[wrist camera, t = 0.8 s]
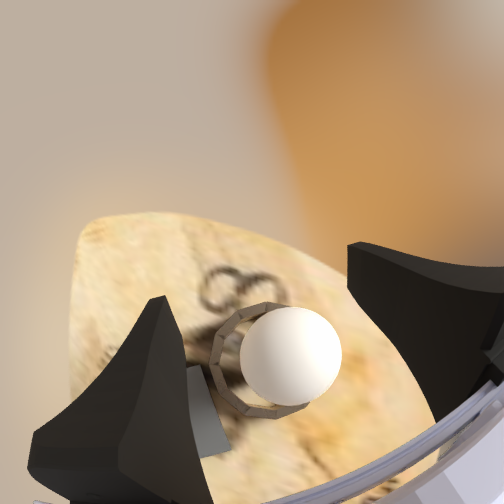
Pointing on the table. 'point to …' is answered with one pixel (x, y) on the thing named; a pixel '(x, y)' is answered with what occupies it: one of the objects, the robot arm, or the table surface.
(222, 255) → the table surface
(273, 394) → the lightbulb
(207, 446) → the mat
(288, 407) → the collar
